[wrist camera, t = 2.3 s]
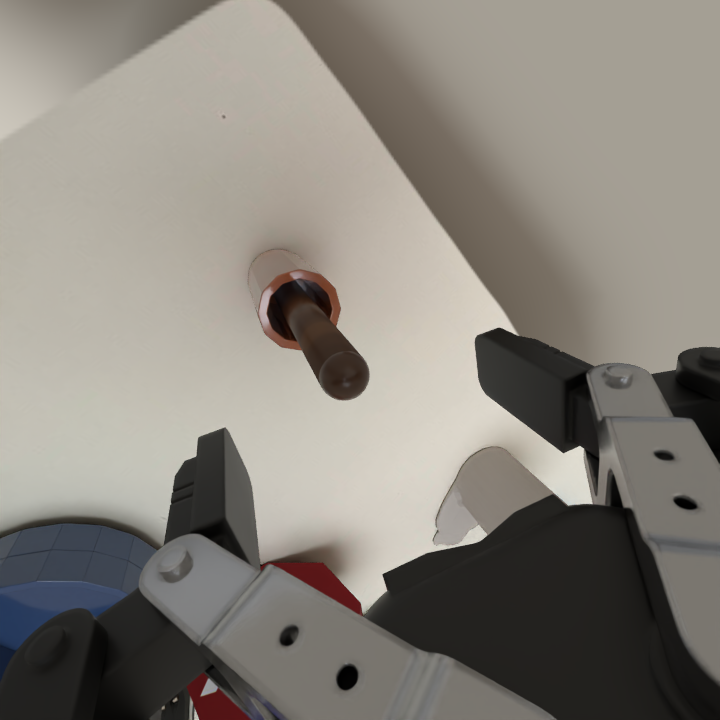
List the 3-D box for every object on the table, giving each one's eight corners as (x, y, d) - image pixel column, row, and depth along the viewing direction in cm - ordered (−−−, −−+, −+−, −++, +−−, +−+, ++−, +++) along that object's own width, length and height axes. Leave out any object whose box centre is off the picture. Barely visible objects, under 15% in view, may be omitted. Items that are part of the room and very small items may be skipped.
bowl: (-115, 574, 28) (-190, 661, 23) (120, 485, 31) (100, 544, 26) (22, 687, 36) (-13, 773, 30) (202, 606, 39) (199, 671, 33)
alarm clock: (204, 629, 40) (193, 971, 22) (180, 571, 36) (143, 924, 19) (345, 578, 43) (429, 837, 26) (335, 520, 40) (425, 776, 22)
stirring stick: (263, 272, 28) (318, 371, 13) (288, 265, 29) (370, 353, 13) (271, 296, 29) (333, 417, 13) (295, 289, 29) (381, 398, 14)
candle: (420, 543, 45) (547, 765, 28) (474, 441, 42) (658, 619, 24) (467, 547, 48) (609, 749, 31) (522, 452, 45) (715, 618, 27)
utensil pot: (238, 258, 28) (246, 284, 20) (298, 241, 29) (328, 260, 21) (259, 316, 30) (274, 360, 22) (314, 298, 31) (348, 335, 23)
